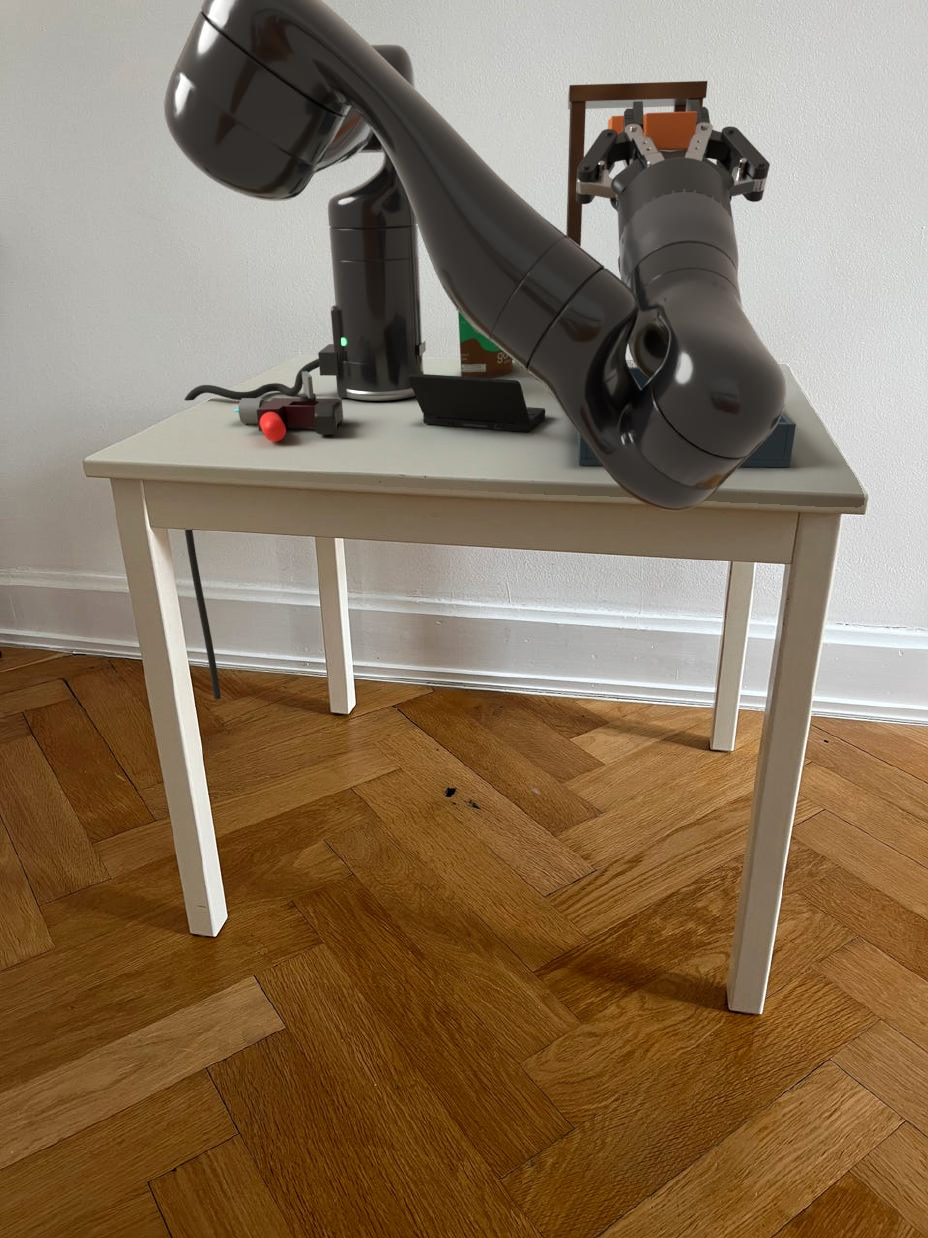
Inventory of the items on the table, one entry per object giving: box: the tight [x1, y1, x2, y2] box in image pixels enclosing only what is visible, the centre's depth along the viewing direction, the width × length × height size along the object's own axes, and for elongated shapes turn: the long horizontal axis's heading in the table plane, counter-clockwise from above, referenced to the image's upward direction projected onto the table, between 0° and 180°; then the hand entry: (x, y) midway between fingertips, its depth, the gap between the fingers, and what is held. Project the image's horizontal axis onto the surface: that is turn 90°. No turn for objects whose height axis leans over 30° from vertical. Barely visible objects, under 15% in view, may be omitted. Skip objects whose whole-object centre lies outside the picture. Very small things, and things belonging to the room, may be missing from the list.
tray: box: [576, 366, 797, 468], centre depth 84 cm, size 17×23×4 cm
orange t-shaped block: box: [607, 111, 697, 152], centre depth 74 cm, size 7×22×3 cm, turn 175°
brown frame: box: [565, 80, 708, 248], centre depth 105 cm, size 14×14×30 cm
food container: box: [455, 308, 514, 378], centre depth 109 cm, size 12×6×10 cm, turn 164°
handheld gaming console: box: [409, 373, 546, 433], centre depth 87 cm, size 12×7×10 cm
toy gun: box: [232, 371, 345, 442], centre depth 86 cm, size 10×12×5 cm
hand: (663, 113), depth 69 cm, fingers closed on orange t-shaped block, 3 cm apart
